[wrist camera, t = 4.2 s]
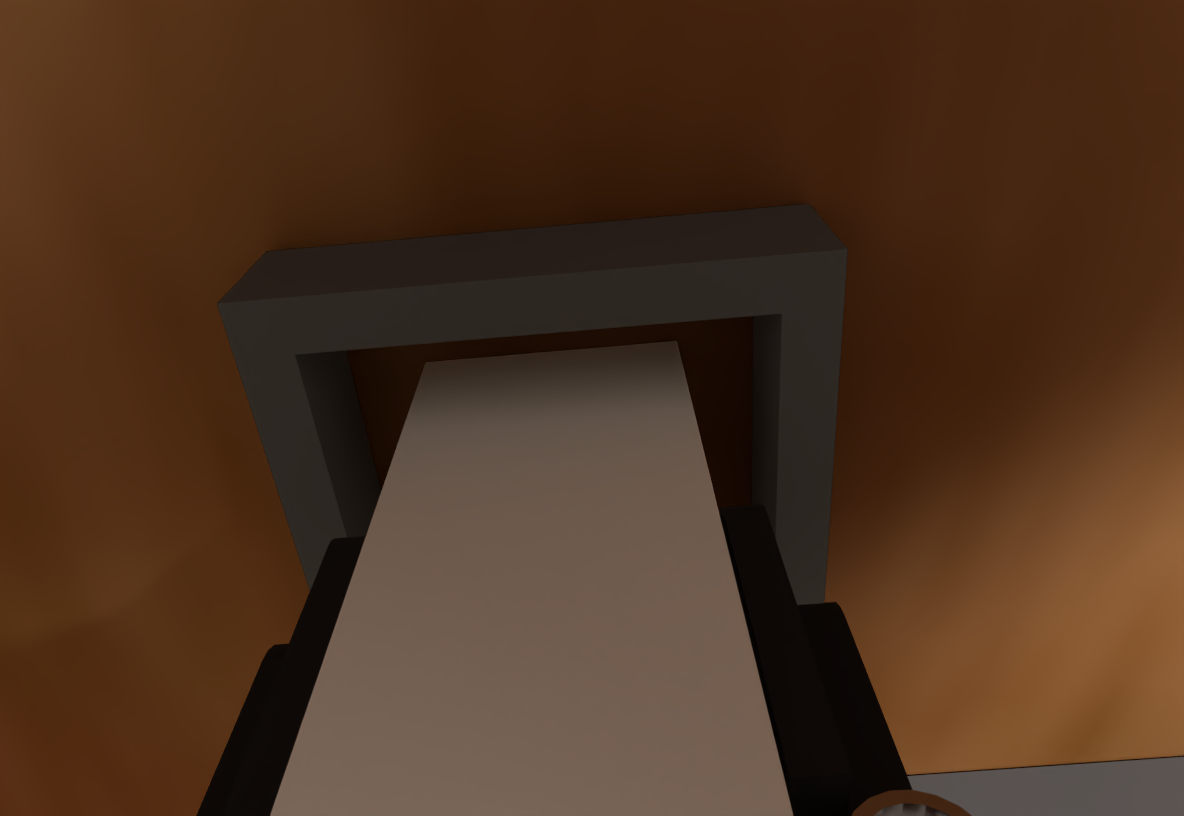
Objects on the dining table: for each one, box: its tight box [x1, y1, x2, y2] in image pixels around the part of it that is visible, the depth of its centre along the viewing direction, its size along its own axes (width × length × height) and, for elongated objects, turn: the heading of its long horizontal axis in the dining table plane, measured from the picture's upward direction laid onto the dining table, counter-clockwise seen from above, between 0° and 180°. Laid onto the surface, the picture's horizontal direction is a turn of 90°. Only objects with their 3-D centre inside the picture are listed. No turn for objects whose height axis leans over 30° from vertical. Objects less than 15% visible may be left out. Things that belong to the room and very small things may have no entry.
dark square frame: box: [217, 204, 848, 605], centre depth 14 cm, size 8×8×2 cm
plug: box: [270, 341, 793, 816], centre depth 9 cm, size 4×4×12 cm
